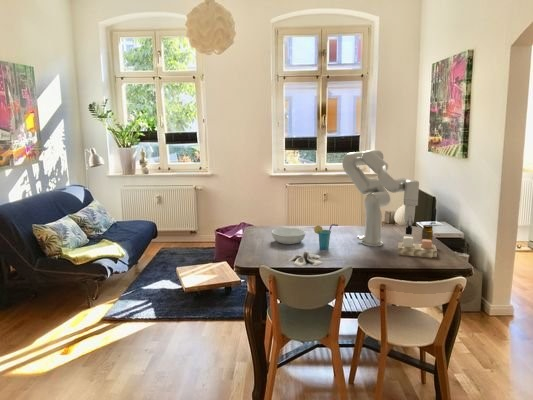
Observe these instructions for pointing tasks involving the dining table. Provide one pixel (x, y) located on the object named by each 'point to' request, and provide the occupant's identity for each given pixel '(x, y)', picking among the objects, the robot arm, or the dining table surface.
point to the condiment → (427, 233)
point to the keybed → (417, 250)
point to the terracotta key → (426, 244)
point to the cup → (323, 236)
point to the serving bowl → (288, 235)
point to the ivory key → (408, 241)
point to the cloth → (305, 259)
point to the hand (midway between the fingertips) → (408, 234)
